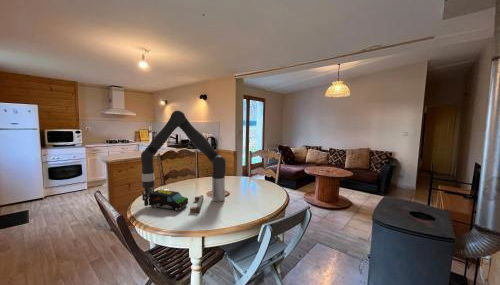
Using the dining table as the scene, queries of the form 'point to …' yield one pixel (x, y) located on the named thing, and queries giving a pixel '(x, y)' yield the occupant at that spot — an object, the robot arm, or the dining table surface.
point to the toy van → (167, 200)
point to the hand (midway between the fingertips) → (148, 203)
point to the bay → (199, 205)
